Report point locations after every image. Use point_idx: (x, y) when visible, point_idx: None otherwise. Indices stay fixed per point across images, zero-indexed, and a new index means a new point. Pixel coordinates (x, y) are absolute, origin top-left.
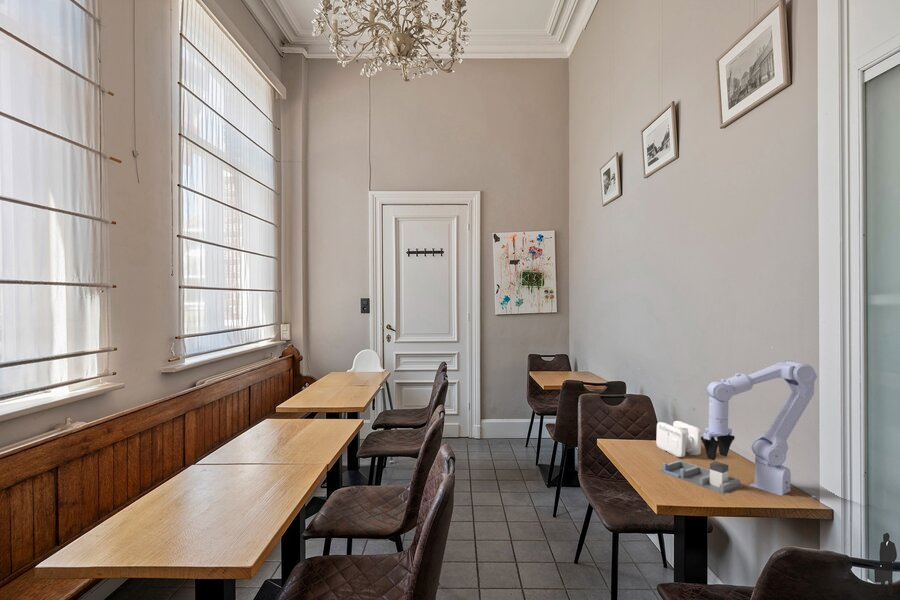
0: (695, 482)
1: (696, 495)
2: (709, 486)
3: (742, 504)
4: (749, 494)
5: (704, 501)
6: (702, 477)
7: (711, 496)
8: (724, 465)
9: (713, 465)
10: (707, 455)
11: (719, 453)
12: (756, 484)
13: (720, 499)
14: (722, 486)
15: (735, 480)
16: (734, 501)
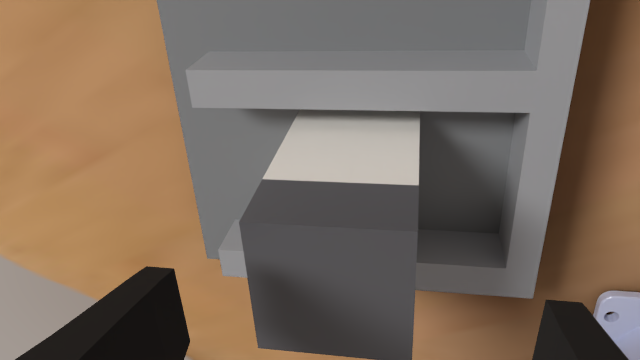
0: (201, 16)
1: (27, 143)
2: (243, 136)
3: (210, 348)
4: (422, 329)
5: (11, 216)
6: (229, 84)
7: (123, 207)
8: (345, 343)
9: (251, 251)
10: (112, 299)
11: (554, 312)
12: (626, 349)
13: (142, 257)
14: (224, 265)
15: (461, 285)
16: (204, 312)
